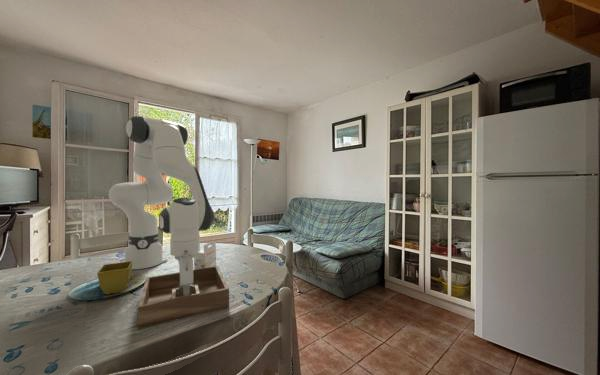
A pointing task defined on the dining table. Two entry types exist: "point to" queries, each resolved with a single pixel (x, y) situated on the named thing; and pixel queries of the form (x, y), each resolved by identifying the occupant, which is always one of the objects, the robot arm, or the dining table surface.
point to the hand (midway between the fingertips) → (185, 288)
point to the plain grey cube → (182, 290)
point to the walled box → (169, 306)
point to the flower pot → (114, 277)
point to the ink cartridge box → (206, 257)
